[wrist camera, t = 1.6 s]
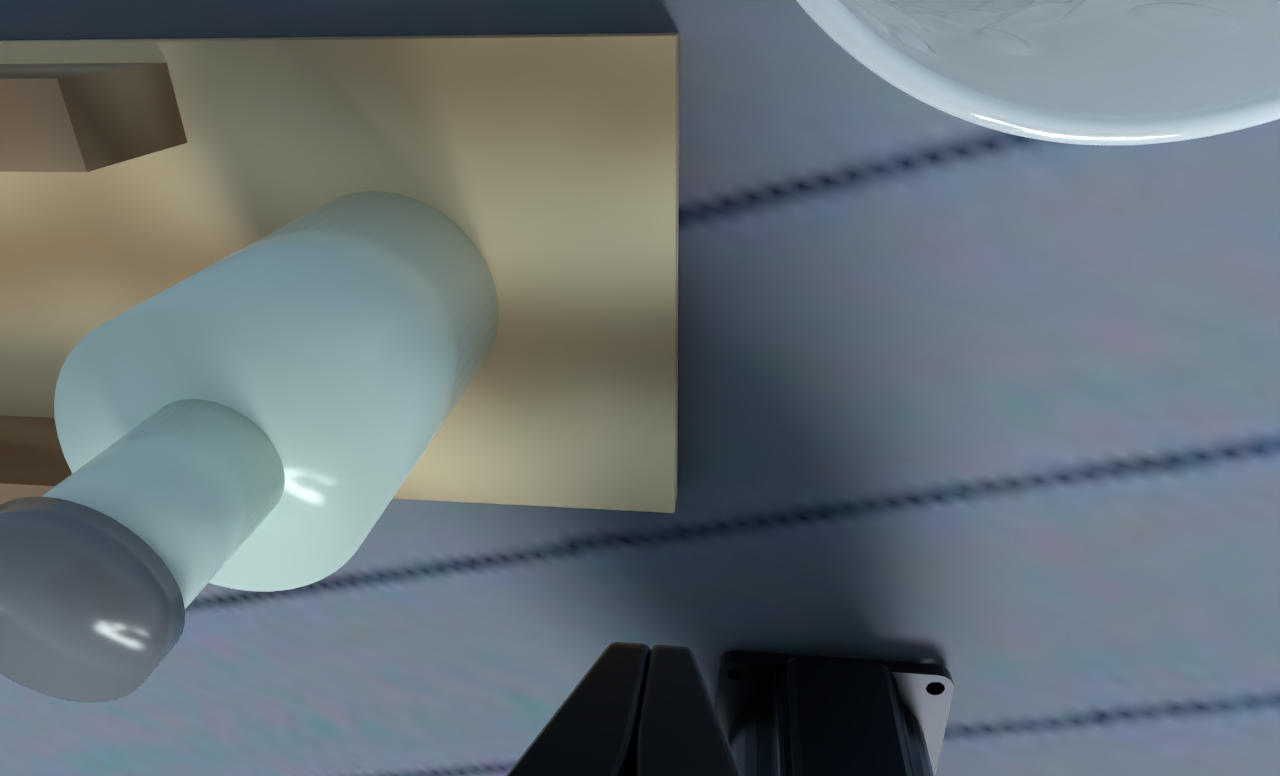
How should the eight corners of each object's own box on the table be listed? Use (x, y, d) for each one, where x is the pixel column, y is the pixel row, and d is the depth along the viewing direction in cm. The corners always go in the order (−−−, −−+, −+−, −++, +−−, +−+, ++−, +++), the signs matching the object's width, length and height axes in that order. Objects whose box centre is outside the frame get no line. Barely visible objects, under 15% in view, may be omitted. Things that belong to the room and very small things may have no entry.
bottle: (508, 401, 19) (295, 786, 10) (309, 394, 20) (-64, 752, 11) (486, 191, 17) (188, 442, 8) (264, 190, 18) (-261, 421, 8)
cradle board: (677, 490, 21) (662, 609, 17) (-109, 452, 24) (-281, 548, 20) (679, 32, 16) (659, 49, 12) (-315, 44, 19) (-602, 61, 15)
